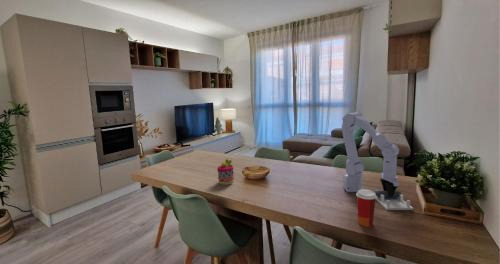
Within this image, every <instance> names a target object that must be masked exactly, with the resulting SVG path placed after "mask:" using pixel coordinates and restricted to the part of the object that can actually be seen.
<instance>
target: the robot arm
mask: <svg viewBox="0 0 500 264" xmlns="http://www.w3.org/2000/svg"><path fill="white" fill-rule="evenodd" d="M341 119H342V125H341V133H342V137H343V141H344V145H345V150H346V151H345V152H346V155H347V159H346V161H345V172H346V174H343V176H342V177H343V178H342V179H343V180H342V188H343V189H344V190H345V192H346V193H357V192H358V190H361V189H363V188H362V185H363V184H362V183H363V182H362V180H363V172H364V171H365V165H364V163H363V162H362V159H361V158H360V156H358V149H357V146H356V141H355V135H354V131H353V130H354V128H355V127H361V129H363V130H364V131H365V132H366V133H367V135H369V136H370V137H371V141H372V142H373V143H374V144H375V145H376V146H377V147H378V149H379V150H381V155H382V156H383V167H382V172H380V177H381V178H380V179H379V181H380V183H381V185H382V189H383V190H382V191H388V196H389V197H393V195H394V193H395V190H397V189H398V187H399V186H400V182H399V177H398V176H397V165H398V155H399V154H400V148H399V146H398V145H396V144H393V142H391V141H390V140H389V139H388V138H387V137H386V134H383V133H381V132H378V131H377V130H376V129H375V128H374V127H373V126H372V124H370V122H369V121H368V120H367V119H366V117H365V116H364V115H363V114H362V112H359V111H355V112H347V113H346V114H344V116H343V117H342V118H341Z"/></svg>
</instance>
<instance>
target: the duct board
mask: <svg viewBox="0 0 500 264" xmlns="http://www.w3.org/2000/svg"><path fill="white" fill-rule="evenodd" d="M377 191H379V190H378V189H375V190H374V193H375V194H376V192H377ZM375 201H377V202H378V203H379V205H381V206H382V208H384V209H385V211H414V207H413V206H411V200H410V199H406V201H405V200H404V194H402V193H401V194H399V198H384V195H380V198H379V197H376V199H375Z"/></svg>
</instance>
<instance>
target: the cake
mask: <svg viewBox="0 0 500 264" xmlns="http://www.w3.org/2000/svg"><path fill="white" fill-rule="evenodd" d="M232 162H233V160H231V159H228V158H227V159H225V160H224V161H222V162H221V165H219V166H217V176H218V177H217V179H218V185H220V184H222V185H221V186H224V185H226V186H229V185H228V184H231V185H233V184H234V183H233V182H235V181H234V180H235V175H234V166H233V164H232ZM232 183H233V184H232Z"/></svg>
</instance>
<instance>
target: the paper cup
mask: <svg viewBox="0 0 500 264" xmlns="http://www.w3.org/2000/svg"><path fill="white" fill-rule="evenodd" d="M355 193H356V194H355V196H356V203H357V205H356V206H357V208H356V209H357V222H358V224H359V225H360V226H362V227H366V228H370V227H372V226H373V224H374V217H375V216H374V214H375V208H376V207H375V206H376V197H377V196H376V194H375V191H373V190H369V189H366V188H365V189H364V188H362V189H361V190H358V192H355Z"/></svg>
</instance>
